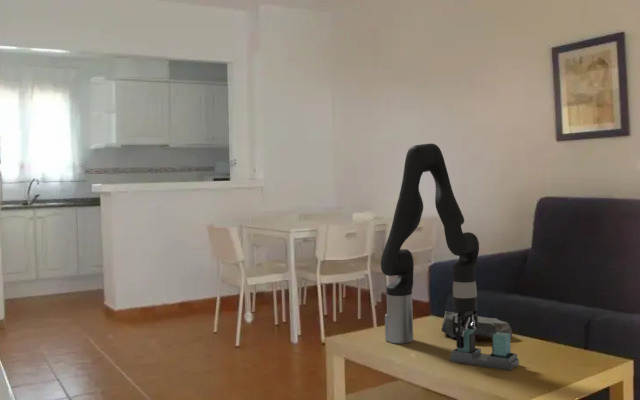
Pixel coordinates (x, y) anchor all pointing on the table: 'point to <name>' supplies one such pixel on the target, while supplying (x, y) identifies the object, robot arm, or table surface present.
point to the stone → (485, 326)
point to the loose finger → (468, 341)
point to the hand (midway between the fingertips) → (466, 344)
